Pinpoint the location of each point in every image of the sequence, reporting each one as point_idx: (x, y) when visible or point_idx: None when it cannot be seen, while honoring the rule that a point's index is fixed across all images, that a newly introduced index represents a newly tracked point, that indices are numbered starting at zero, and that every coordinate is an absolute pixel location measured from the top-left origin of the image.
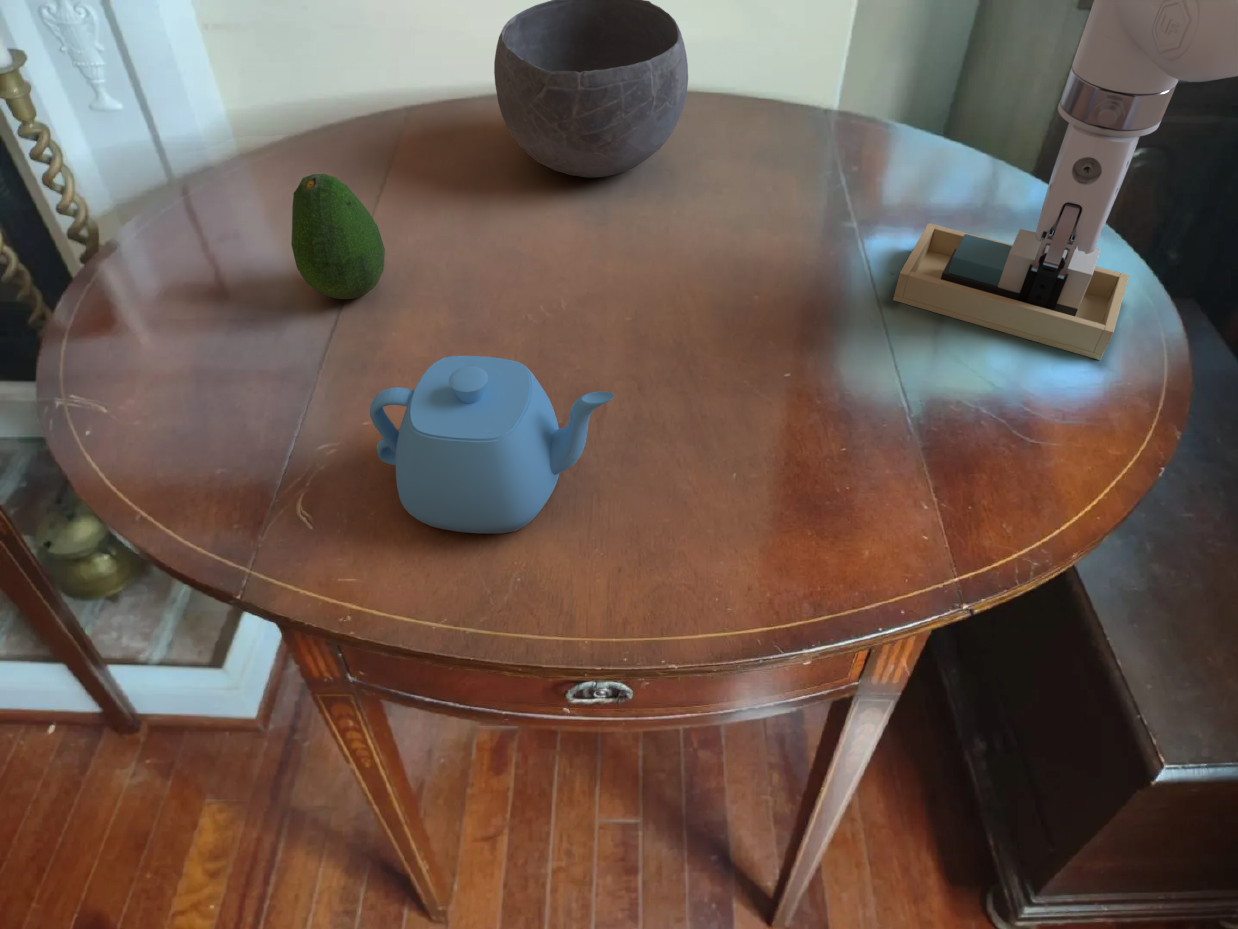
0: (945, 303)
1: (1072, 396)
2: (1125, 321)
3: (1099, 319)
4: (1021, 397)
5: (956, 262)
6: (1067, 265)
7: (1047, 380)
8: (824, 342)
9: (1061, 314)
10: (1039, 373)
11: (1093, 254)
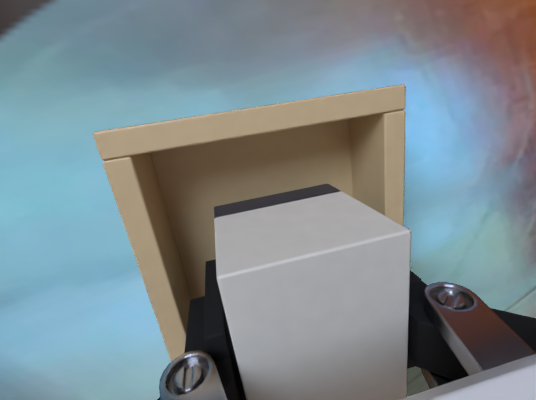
0: None
1: (471, 103)
2: (187, 86)
3: (245, 138)
4: (498, 171)
5: None
6: (501, 321)
7: (448, 154)
8: None
9: (393, 211)
10: (436, 171)
11: (282, 280)
